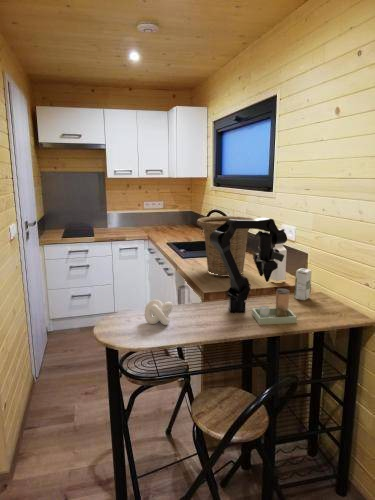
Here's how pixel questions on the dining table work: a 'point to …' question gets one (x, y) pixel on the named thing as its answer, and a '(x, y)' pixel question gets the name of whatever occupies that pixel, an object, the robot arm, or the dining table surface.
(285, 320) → the tote
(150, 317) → the cream knot sculpture
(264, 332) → the dining table surface
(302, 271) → the syrup box
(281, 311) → the coffee tin
